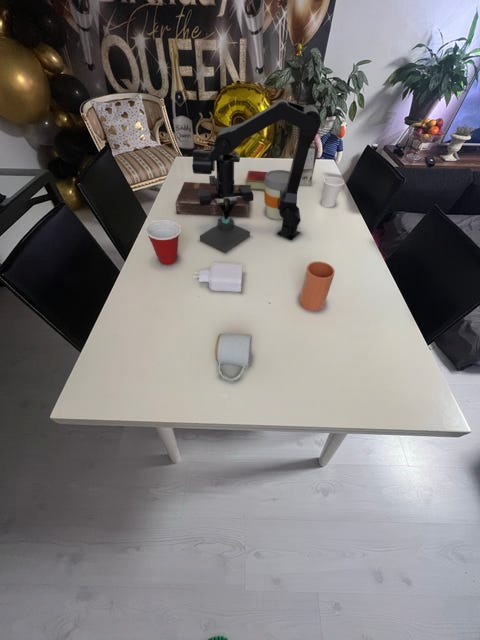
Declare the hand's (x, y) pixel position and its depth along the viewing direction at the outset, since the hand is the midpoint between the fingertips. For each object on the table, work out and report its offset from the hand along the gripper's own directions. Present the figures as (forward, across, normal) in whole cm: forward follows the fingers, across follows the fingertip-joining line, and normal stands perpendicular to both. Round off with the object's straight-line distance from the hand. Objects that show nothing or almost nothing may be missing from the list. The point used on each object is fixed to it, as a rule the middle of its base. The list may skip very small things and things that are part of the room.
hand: (225, 218), depth 109 cm
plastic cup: (+5, +23, +14) cm, 27 cm away
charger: (+5, +9, +29) cm, 30 cm away
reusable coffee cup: (+5, -23, -8) cm, 25 cm away
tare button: (+2, 0, 0) cm, 2 cm away
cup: (+5, -16, +44) cm, 47 cm away
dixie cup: (+5, -48, -12) cm, 50 cm away
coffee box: (+5, -46, -36) cm, 59 cm away
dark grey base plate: (+5, +2, +6) cm, 8 cm away
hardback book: (+5, 0, -21) cm, 21 cm away
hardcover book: (+5, -28, -35) cm, 45 cm away
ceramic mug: (+5, +11, +59) cm, 60 cm away
